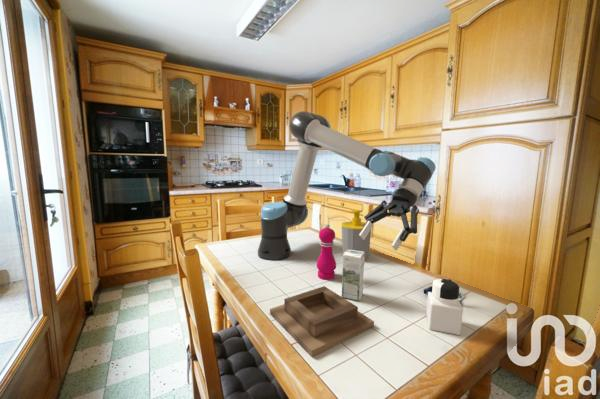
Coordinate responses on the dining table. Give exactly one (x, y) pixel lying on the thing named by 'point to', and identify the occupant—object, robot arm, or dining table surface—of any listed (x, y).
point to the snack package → (431, 291)
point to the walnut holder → (320, 319)
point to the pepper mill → (326, 254)
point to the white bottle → (444, 307)
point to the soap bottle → (355, 235)
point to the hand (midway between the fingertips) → (376, 242)
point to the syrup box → (352, 274)
